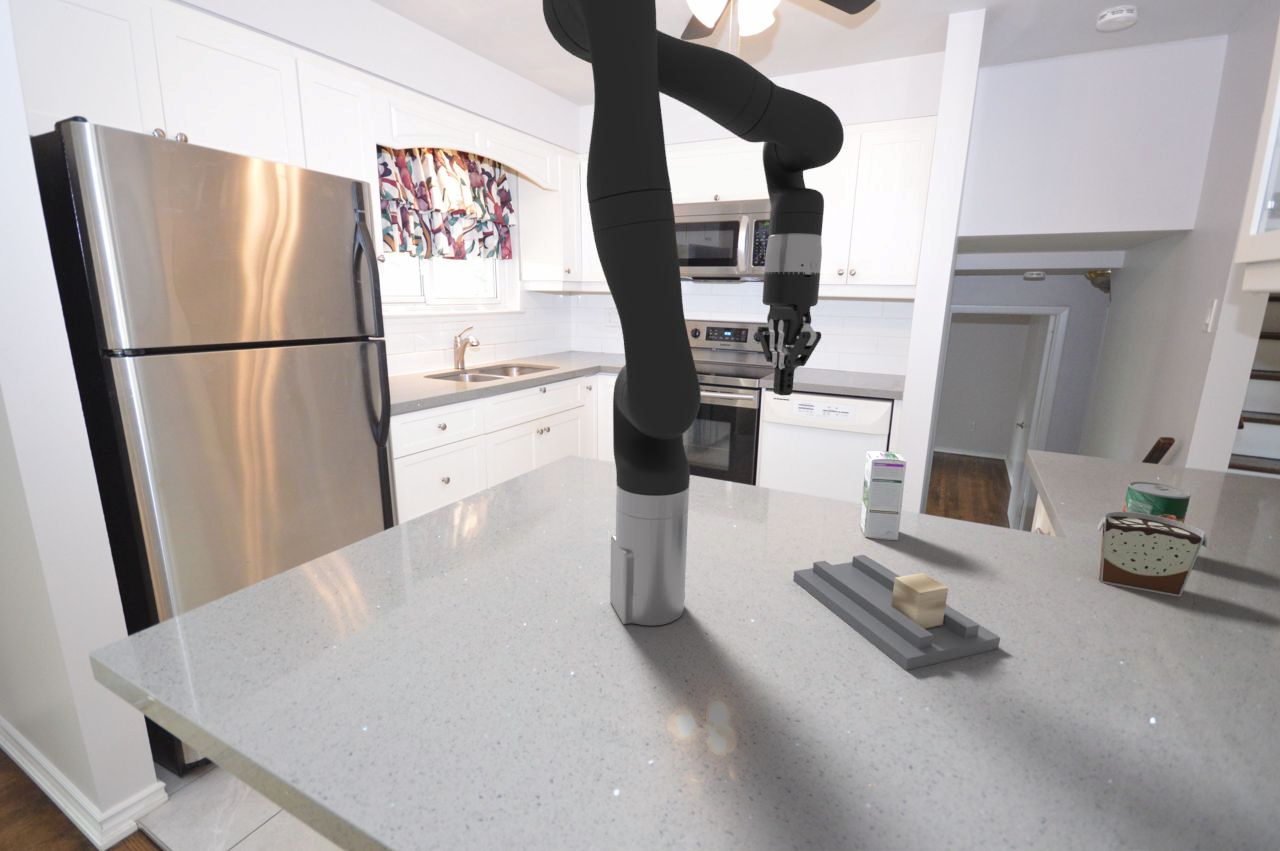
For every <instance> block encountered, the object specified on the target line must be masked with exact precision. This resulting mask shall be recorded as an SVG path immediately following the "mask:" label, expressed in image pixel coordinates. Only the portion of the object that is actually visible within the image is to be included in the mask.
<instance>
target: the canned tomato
mask: <svg viewBox="0 0 1280 851" xmlns="http://www.w3.org/2000/svg"><path fill="white" fill-rule="evenodd" d="M1191 497H1192V494H1191V493H1190V492H1189V491H1188V490H1185V489H1182V488H1180V487H1177V486H1176V487H1175V486H1172V485H1168V484H1163V483H1159V482H1157V483H1156V482H1152V481H1151V482H1149V481H1131V482H1129V483H1128V487H1127V492H1126V497H1125V501H1124V505H1123V510H1122V512H1135V513H1142V514H1149V515H1154V516H1159V517H1164V518H1168V519H1172V520H1175V521H1179V522H1182V523H1185V520H1186V516H1187V512H1188V507H1189V503H1190V498H1191Z"/></svg>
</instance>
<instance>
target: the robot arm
mask: <svg viewBox="0 0 1280 851" xmlns="http://www.w3.org/2000/svg"><path fill="white" fill-rule="evenodd" d="M656 5H657V4H656V0H542V13H543V16H544V21H545V24H546V27H547V29H548V31H549V32H550V34H551V35H552V38H553V39H554V40H555V41H556V42H557V44H558V45H560V47H562V49H564V50H565V51H566V52H568V53H569V54H571V55H572V56H574V57H576V58H578V59H580V60H581V61H585V62H587V63H588V64H591V68H592V75H593V76H592V78H593V89H594V90H593V92H594V98H593V99H594V104H593V107H594V108H593V117H592V124H591V125H592V126H591V133H590V140H589V141H590V142H589V149H588V157H587V158H588V159H587V168H586V169H587V170H586V191H587V192H586V194H587V202H588V208H589V215H590V222H591V228H592V233H593V234H592V235H593V240H594V244H595V248H596V252H597V257H598V259H599V260H598V261H599V262H600V266H601V269H602V272H603V275H604V278H605V281H606V283H607V286H608V290H609V291H610V294H611V296H612V299H613V301H614V305H615V308H616V311H617V315H618V317H619V318H618V319H619V321H620V326H621V333H622V339H623V347H624V348H623V349H624V350H623V351H624V359H625V365H623V366H622V368H621V370H620V371H619V373H618V375H617V377H616V379H615V382H614V388H613V395H612V396H613V397H612V401H613V402H612V429H613V430H612V431H613V432H612V433H613V436H612V438H613V441H612V442H613V443H612V444H613V445H612V446H613V459H614V463H615V471H616V480H615V481H616V490H615V492H616V495H615V496H616V499H615V500H616V501H615V502H616V504H615V534H613V535H611V536H610V580H609V581H610V583H609V586H610V589H609V590H610V592H609V594H610V596H609V603H610V604H611V605H612V607H613V608H614V611H615V612H616V614H617V616H618V618H619V620H620V621H621V623H622V624H624V625H627V624H637V625H641V626H661V625H666V624H670V623H673V622H675V621H676V620H678V619H679V618H680V617H682V615H683V614H684V610H685V598H686V570H687V568H686V567H687V549H688V547H687V546H688V545H687V544H688V526H689V525H688V520H689V503H690V502H689V501H690V500H689V498H690V497H689V496H690V483H691V482H690V480H691V479H690V478H691V477H690V476H691V468H690V467H691V466H690V463H689V461H688V457H687V455H686V451H685V446H684V439H683V438H684V437H683V434H684V433H686V432H687V431H688V430H689V429H690V428H692V425H694V422H695V421H696V419H697V416H698V414H699V410H700V407H701V399H702V397H701V396H702V395H701V394H702V393H701V387H700V382H699V378H698V373H697V369H696V364H695V361H694V360H695V359H694V357H693V351H692V346H691V343H690V338H689V335H688V330H687V324H686V321H685V320H686V319H685V318H686V317H685V312H684V304H683V293H682V278H681V270H680V260H679V252H678V242H677V232H676V231H677V230H676V229H677V228H676V220H675V219H676V217H675V211H674V202H673V193H672V186H671V181H670V180H671V179H670V175H669V168H668V161H667V153H666V144H665V141H666V140H665V134H664V133H665V132H664V124H663V115H662V114H663V113H662V106H661V97H660V93H661V94H664V95H665V96H668V97H670V98H672V99H674V100H676V101H677V102H680V103H681V104H684V105H686V106H688V107H689V108H691V109H693V110H695V111H697V112H698V113H700V114H702V115H704V117H706V118H708V119H710V120H712V121H713V122H714V123H716V124H717V125H719V126H720V127H722V128H723V129H726V130H727V131H729V132H730V133H732V134H733V135H735V136H737V137H738V138H740V139H741V140H743V141H746V142H748V143H763V147H762V163H763V165H762V166H763V171H764V175H765V176H764V177H765V184H766V189H767V193H768V199H769V204H770V212H769V213H770V214H769V228H768V239H767V246H766V251H765V257H764V258H765V260H764V270H763V272H764V273H763V289H762V303H763V305H765V306H769V310H768V314H767V318H766V321H767V323H766V324H765V326H758V327H757V330H756V332H757V335H758V339H759V342H760V345H761V347H762V351H763V355H764V358H765V360H766V362H767V363H771V366H772V368H773V369H774V373H773V374H774V375H773V378H774V379H773V390H772V391H773V393H774V394H775V395H779V396H790V395H792V393H793V389H794V378H795V370H797V369H798V367H804V366H805V365H806V364H807V362H808V360H809V359H810V357H811V356H812V354H813V352H814V350H815V349H816V348H817V345H818V344H819V342H820V341H821V339H822V332H821V331H815V330H814V329H813V327H812V326H811V324H812V315H811V307H815V306H817V305H818V302H819V293H820V292H819V290H820V282H821V281H820V279H821V268H822V256H823V255H822V254H823V253H822V251H823V248H822V234H823V221H824V213H825V212H824V211H825V210H824V209H825V200H824V195H823V193H822V192H821V191H819V190H818V189H815V188H814V189H813V188H809V187H806V183H805V179H804V171H808V170H812V169H815V168H816V169H817V168H820V167H824V166H825V165H828V164H830V163H831V162H832V161H833V160H835V159H836V158H837V156H838V155H839V153H841V150H842V148H843V145H844V140H845V137H844V136H845V135H844V132H845V131H844V127H843V125H842V124H843V123H842V122H841V120H840V118H839V116H838V115H837V113H836V112H835V111H834V110H833V109H832V108H831V106H829V105H827V104H825V103H824V102H822V101H820V100H818V99H815V98H813V97H810V96H808V95H805V94H802V93H800V92H798V91H795V90H791V89H789V88H785V87H783V86H779V85H777V84H776V83H774V82H773V81H772V80H771V79H770V78H769V77H767V76H766V75H764V74H763V73H761V72H760V71H759V70H757V69H756V68H755V67H754V66H752V65H751V64H749V63H748V62H747V61H745V60H743V59H742V58H740V57H739V56H736V55H735V54H732V53H730V52H727V51H724V50H722V49H717V48H715V47H711V46H707V45H703V44H700V43H694V42H690V41H689V40H684V39H681V38H678V37H674V36H672V35H669V34H667V33H666V32H663V31H661V30H659V29H657V6H656Z"/></svg>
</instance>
